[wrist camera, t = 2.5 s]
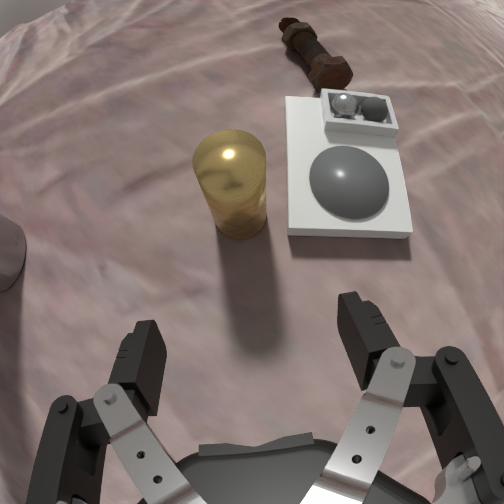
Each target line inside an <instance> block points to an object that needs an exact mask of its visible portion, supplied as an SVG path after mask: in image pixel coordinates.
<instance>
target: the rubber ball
mask: <svg viewBox="0 0 504 504" xmlns="http://www.w3.org/2000/svg"><path fill="white" fill-rule="evenodd" d="M361 112H362V114H363V116H364V118H365V119H366V120H368V121H372V122H382V121H384V120H385V119H386V117H387V115H388V107H387V105H386V103H385V102H384V101H383V100H382V99H380V98H378V97H369V98H367V99H365V100H364V102H363V103H362V106H361Z"/></svg>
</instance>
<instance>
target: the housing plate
mask: <svg viewBox="0 0 504 504" xmlns="http://www.w3.org/2000/svg"><path fill="white" fill-rule="evenodd" d="M340 93H347V94H350V95H352V96H353V97H354V98H355V99H356V100H357V102H358V105H359V110H358V113H357V114H356V116H355V117H354V118H352V119H343V118H338V117H336V116H335V115H334V114H333V112H332V109H331V102H332V99H333V98H334V97H335V96H336V95H338V94H340ZM369 97H378V98H380V99H382V100H383V101H384V102H385V103H386V105H387V107H388V115H387V117H386V119H385V120H384V121H382V122H372V121H368V120H366V119H365V118H364V116H363V114H362V112H361V106H362V103H363V102H364V100H365V99H367V98H369ZM285 125H286V163H287V235H292V236H331V237H365V238H394V239H405V238H406V237H408V236H409V235H410V234H411V233H412V232H413V230H412V223H411V216H410V209H409V203H408V197H407V192H406V186H405V181H404V176H403V171H402V166H401V161H400V157H399V153H398V148H397V144H396V140H395V135H396V134H397V132H398V130H399V128H398V124H397V121H396V117H395V114H394V111H393V107H392V104H391V101H390V98H389V96H384V95H377V94H370V93H362V92H354V91H345V90H334V89H321V94H320V98H312V97H291V96H286V97H285Z"/></svg>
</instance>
